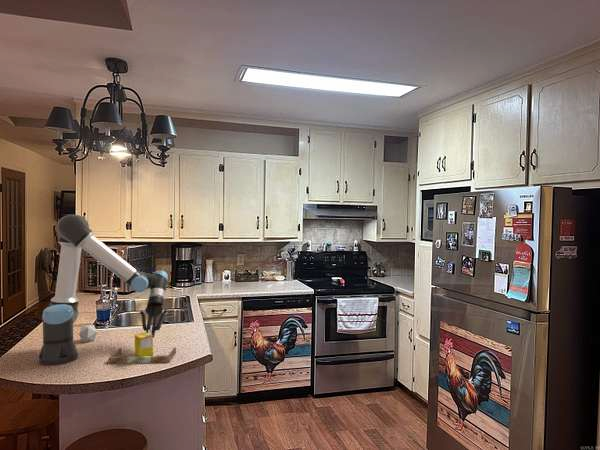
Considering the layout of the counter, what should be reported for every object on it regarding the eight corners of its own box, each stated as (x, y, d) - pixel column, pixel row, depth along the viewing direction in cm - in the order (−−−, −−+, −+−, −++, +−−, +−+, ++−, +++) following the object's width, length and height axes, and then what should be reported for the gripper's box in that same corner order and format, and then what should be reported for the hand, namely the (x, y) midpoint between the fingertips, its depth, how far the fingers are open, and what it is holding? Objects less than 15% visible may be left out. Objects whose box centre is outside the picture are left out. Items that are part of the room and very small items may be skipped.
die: (98, 338, 215) (87, 324, 215) (103, 333, 209) (92, 318, 209) (83, 348, 208) (72, 333, 209) (88, 343, 203) (77, 327, 203)
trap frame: (108, 363, 178) (108, 357, 178) (119, 353, 190) (119, 348, 190) (169, 362, 179) (169, 356, 179) (176, 352, 192) (176, 347, 192)
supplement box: (147, 355, 188) (147, 331, 187) (153, 358, 184) (153, 334, 183) (134, 358, 184) (134, 334, 183) (140, 362, 179) (140, 337, 179)
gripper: (171, 302, 207) (164, 346, 192) (145, 303, 206) (136, 348, 191) (168, 294, 202) (161, 339, 186) (141, 295, 201) (131, 340, 185)
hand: (148, 343), depth 188 cm, fingers closed
